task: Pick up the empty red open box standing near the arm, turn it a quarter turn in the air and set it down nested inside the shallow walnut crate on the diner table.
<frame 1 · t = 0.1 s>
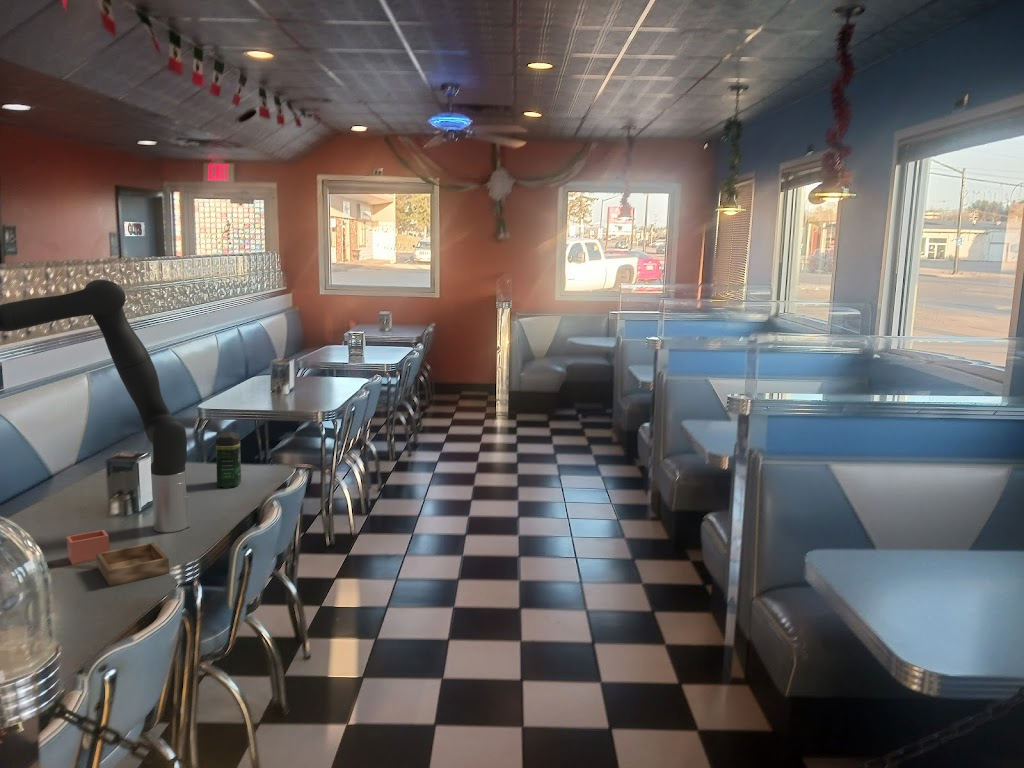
wooden crate: (133, 570, 199), on the table
red open box: (89, 557, 207), on the table
coffee jar: (229, 485, 274), on the table
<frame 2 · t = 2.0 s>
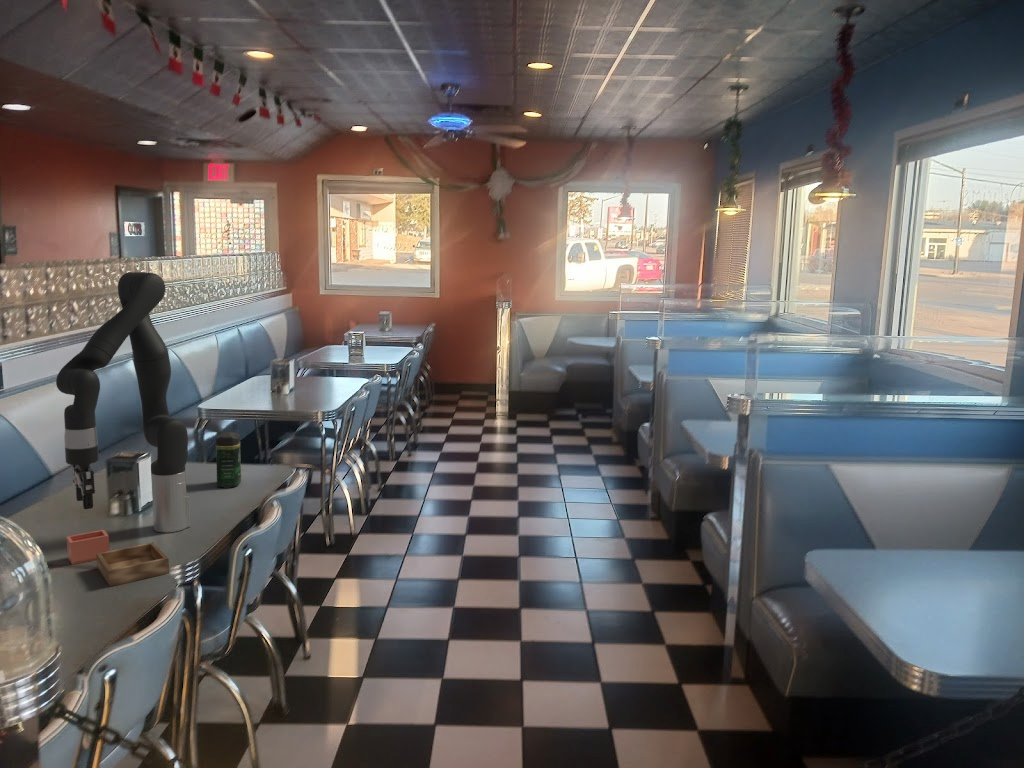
hand: (84, 504, 205), 15 cm above the table, tool pointing down, fingers open, 8 cm apart
nothing on the table moved.
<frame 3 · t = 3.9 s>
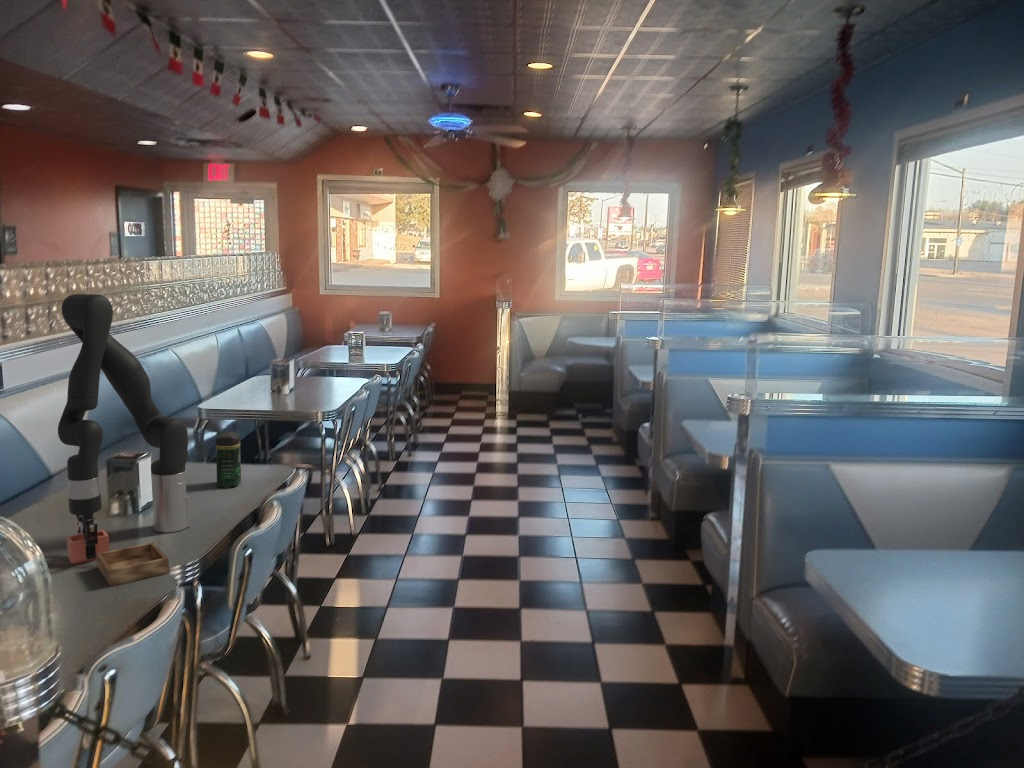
hand: (88, 554, 207), 1 cm above the table, tool pointing down, fingers closed on red open box, 5 cm apart
red open box: (89, 557, 207), on the table, touching gripper
everything else where it was.
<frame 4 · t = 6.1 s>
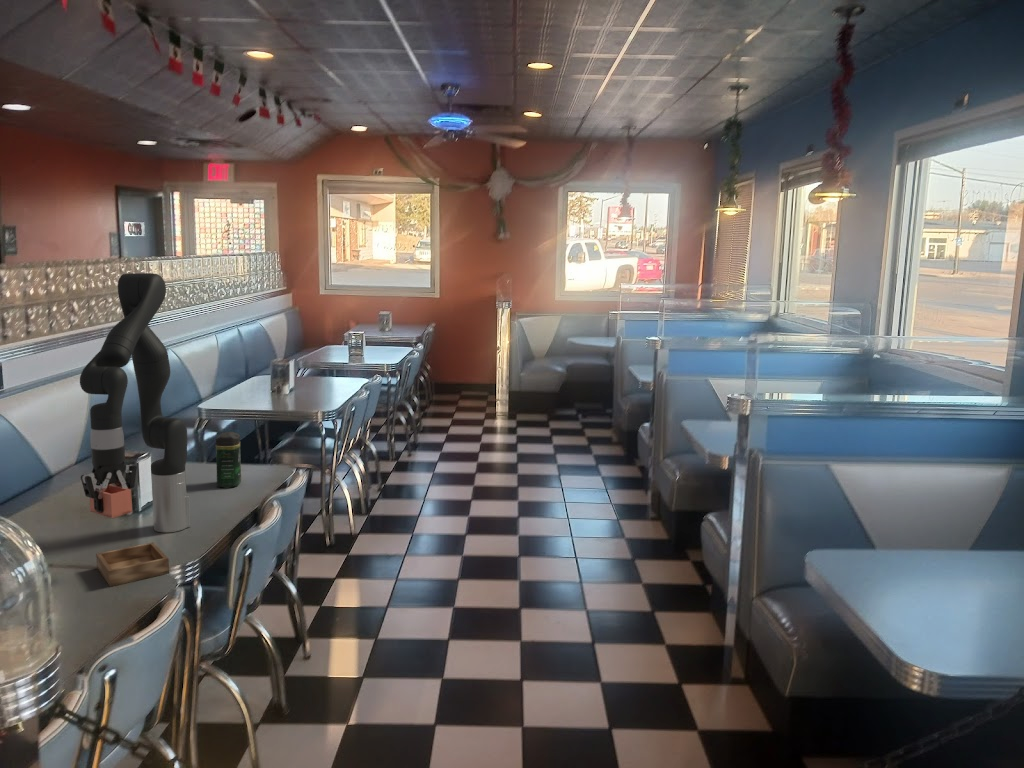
hand: (111, 508, 199), 16 cm above the table, tool pointing down, fingers closed on red open box, 5 cm apart
red open box: (111, 511, 199), point 15 cm above the table, touching gripper
everything else where it was.
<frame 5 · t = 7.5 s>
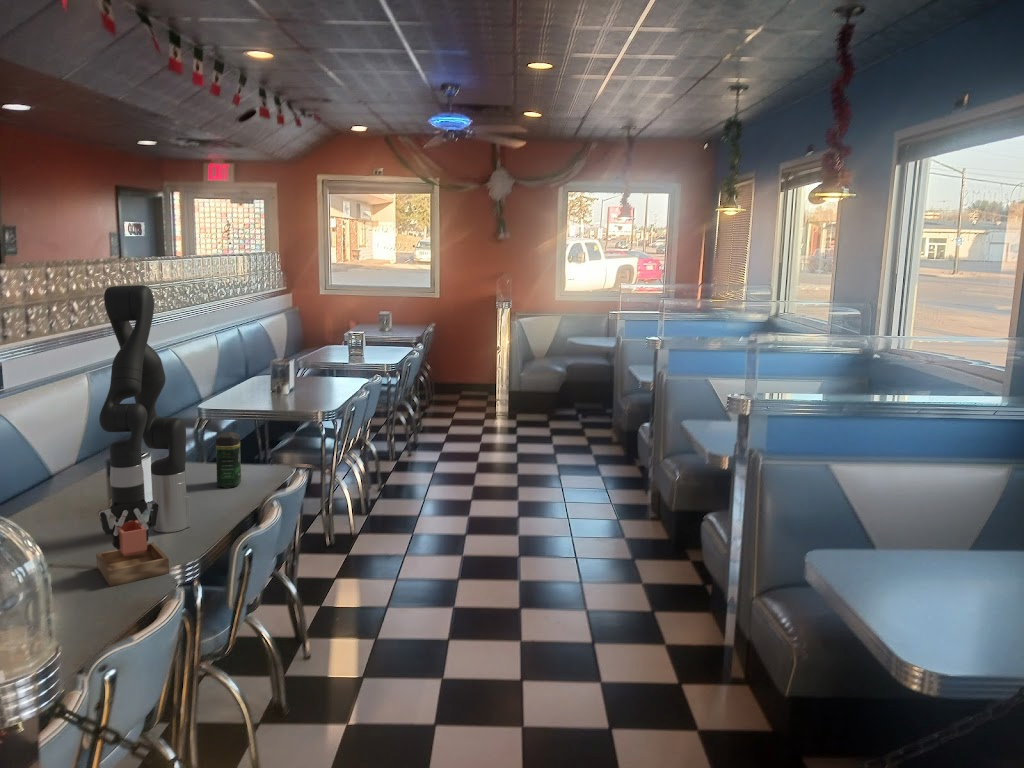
hand: (130, 545, 198), 7 cm above the table, tool pointing down, fingers closed on red open box, 5 cm apart
red open box: (130, 548, 198), point 6 cm above the table, touching gripper
everything else where it was.
when the fingers open (3 cm above the table, at t = 8.8 s): red open box drops 1 cm, resting on wooden crate.
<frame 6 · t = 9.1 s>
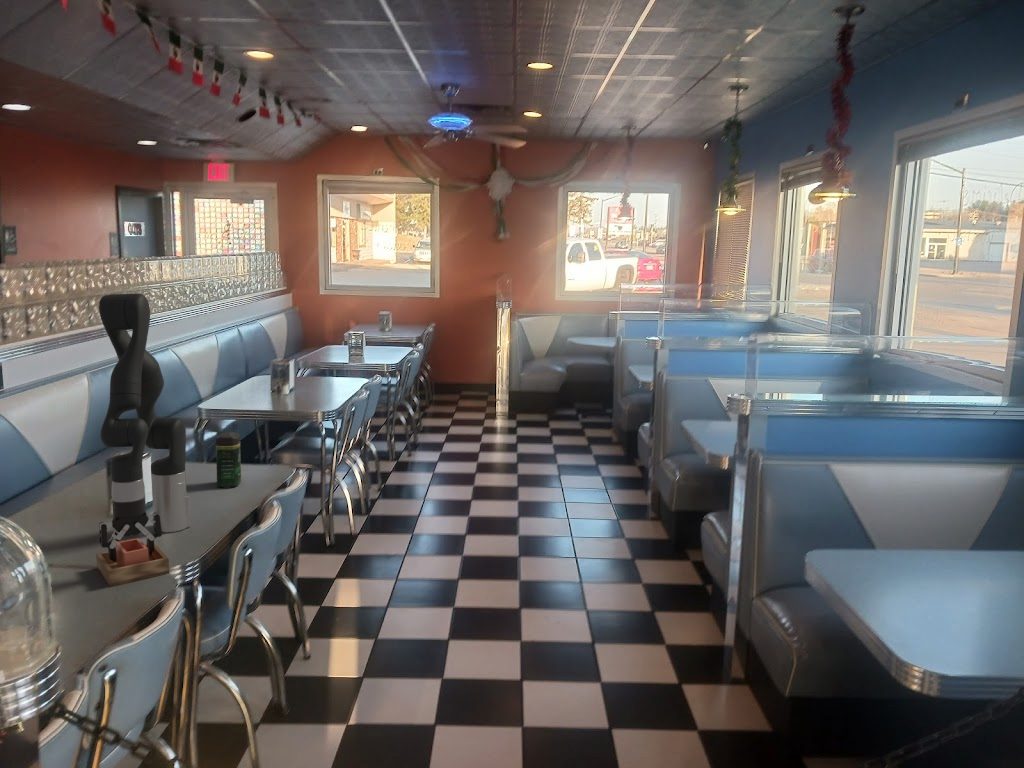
hand: (132, 557, 199), 4 cm above the table, tool pointing down, fingers open, 8 cm apart
red open box: (133, 567, 199), point 1 cm above the table, touching wooden crate
everything else where it was.
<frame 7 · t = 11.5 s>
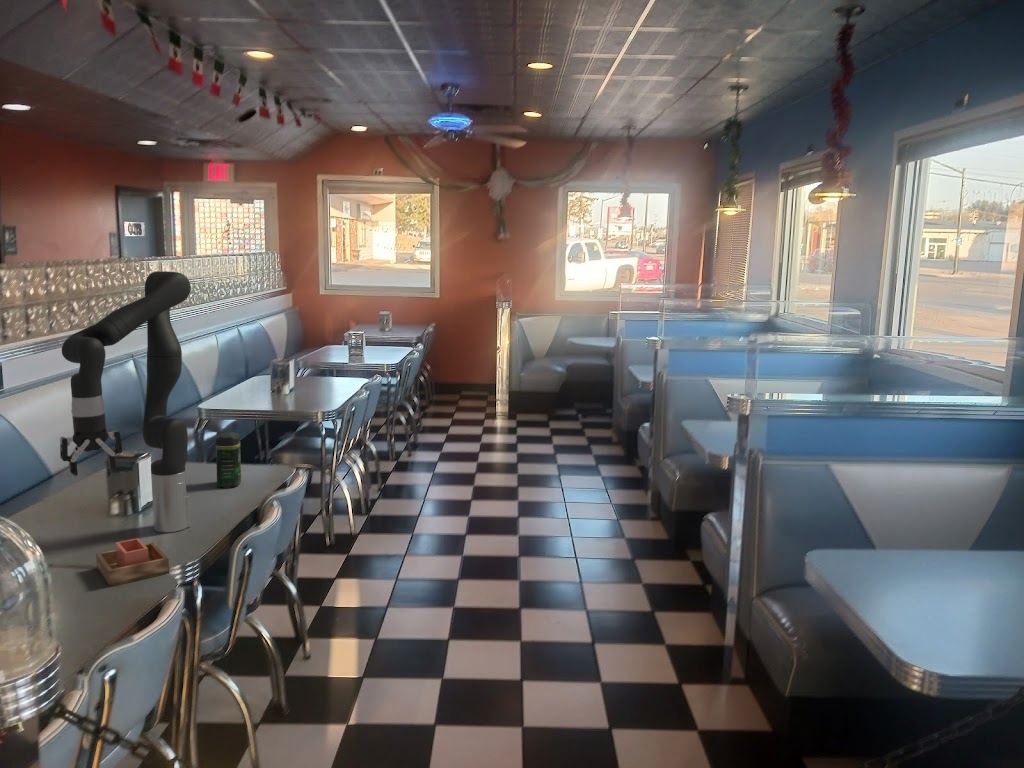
hand: (93, 472, 206), 23 cm above the table, tool pointing down, fingers open, 8 cm apart
nothing on the table moved.
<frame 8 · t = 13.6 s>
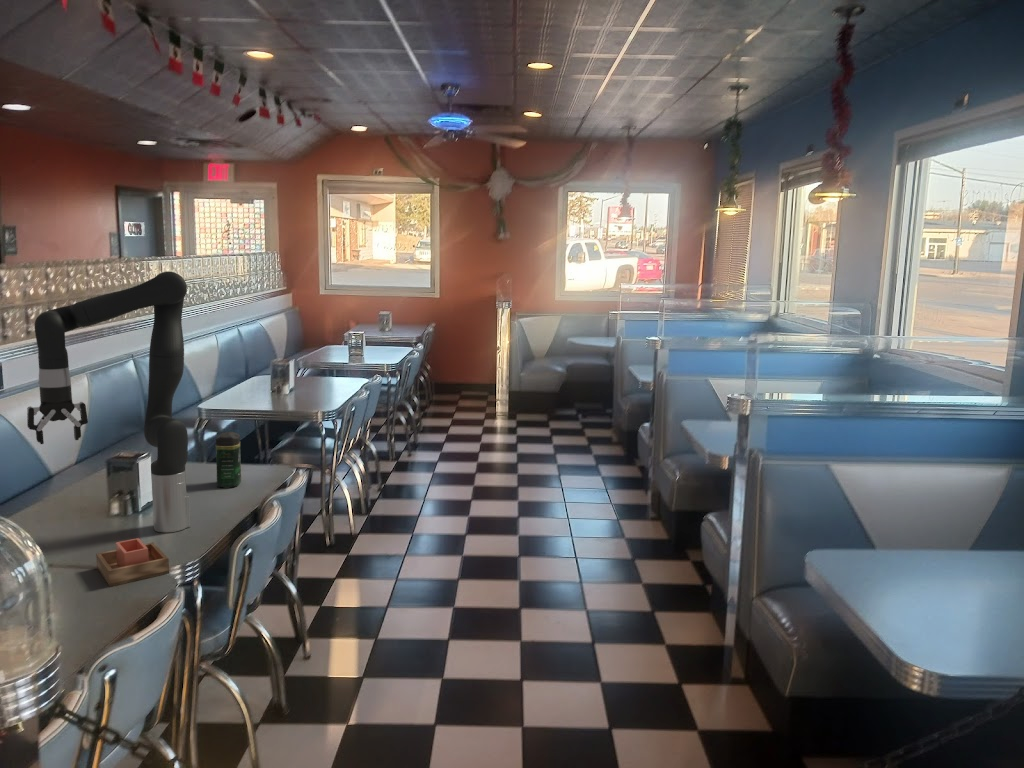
hand: (59, 441, 216), 28 cm above the table, tool pointing down, fingers open, 8 cm apart
nothing on the table moved.
at the end: red open box inside the target area on the wooden crate (0.1 cm from its centre), point 0.8 cm above the wooden crate's base; red open box tilted 0°; the gripper is holding nothing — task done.
